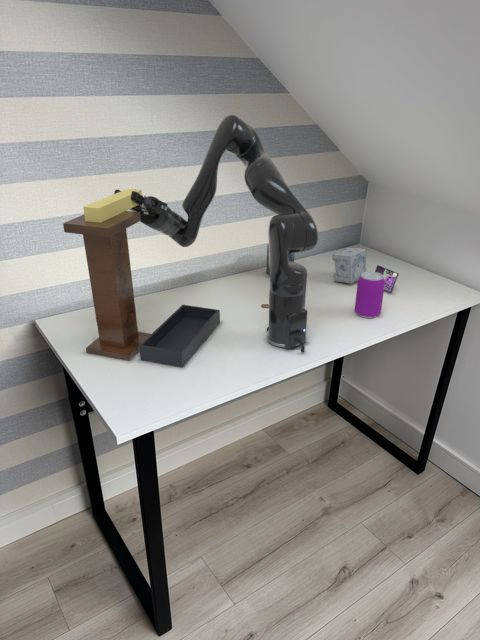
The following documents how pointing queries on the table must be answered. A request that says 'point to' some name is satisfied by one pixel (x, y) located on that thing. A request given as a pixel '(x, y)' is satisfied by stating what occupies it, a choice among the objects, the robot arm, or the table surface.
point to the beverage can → (369, 294)
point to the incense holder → (349, 265)
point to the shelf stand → (111, 284)
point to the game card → (388, 277)
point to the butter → (110, 206)
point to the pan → (180, 336)
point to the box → (290, 258)
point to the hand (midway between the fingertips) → (124, 194)
